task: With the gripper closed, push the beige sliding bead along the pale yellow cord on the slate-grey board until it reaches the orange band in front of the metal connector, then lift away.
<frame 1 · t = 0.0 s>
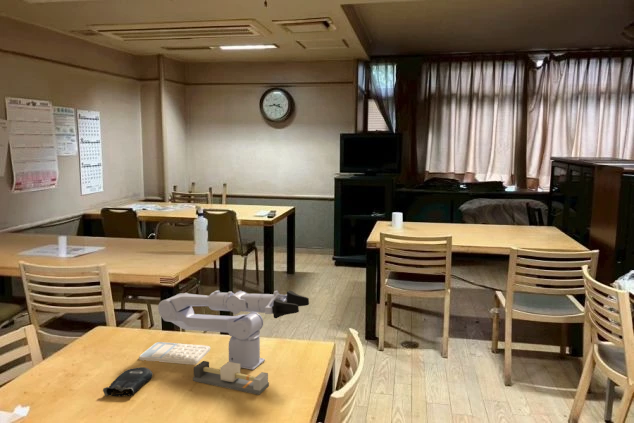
hand: (303, 305, 154), 22 cm above the table, tool horizontal, fingers open, 7 cm apart
cord board: (230, 383, 150), on the table
calculator: (175, 356, 170), on the table
electronic device: (131, 386, 149), on the table
beige sliding bead: (230, 371, 149), point 4 cm above the table, slide at 0.0 cm
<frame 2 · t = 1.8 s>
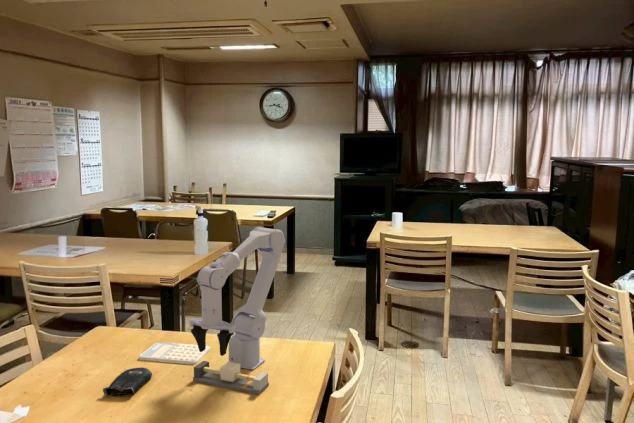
hand: (212, 352, 151), 8 cm above the table, tool pointing down, fingers open, 7 cm apart
nothing on the table moved.
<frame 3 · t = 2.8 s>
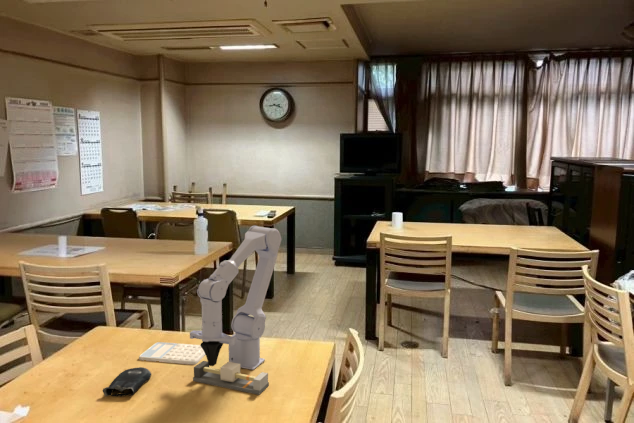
hand: (212, 364, 151), 5 cm above the table, tool pointing down, fingers closed
nothing on the table moved.
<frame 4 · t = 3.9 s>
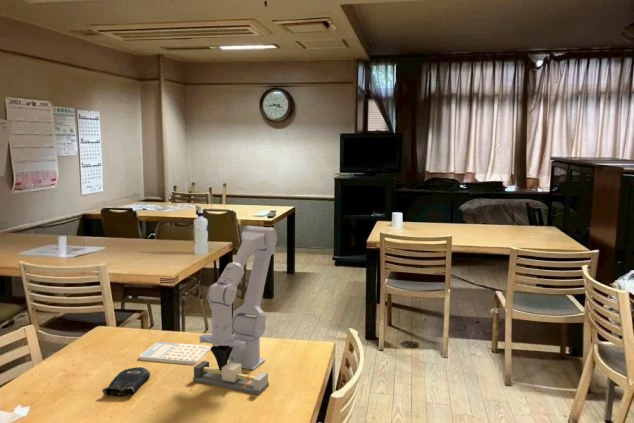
hand: (222, 369, 150), 4 cm above the table, tool pointing down, fingers closed
beige sliding bead: (231, 372, 149), point 3 cm above the table, slide at 0.5 cm, touching gripper
everything else where it was.
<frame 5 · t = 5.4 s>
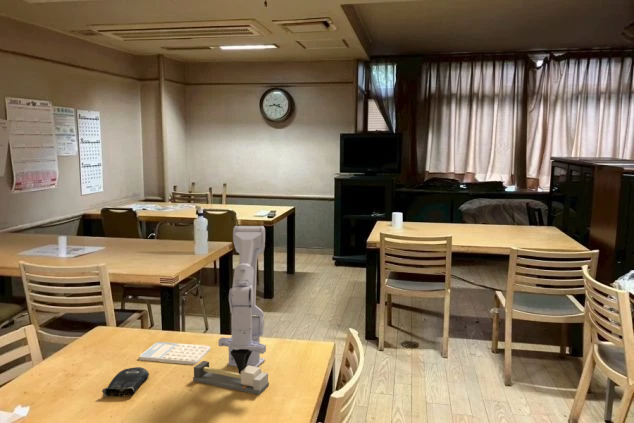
hand: (242, 372, 148), 4 cm above the table, tool pointing down, fingers closed
beige sliding bead: (250, 375, 147), point 4 cm above the table, slide at 6.8 cm, touching gripper
everything else where it was.
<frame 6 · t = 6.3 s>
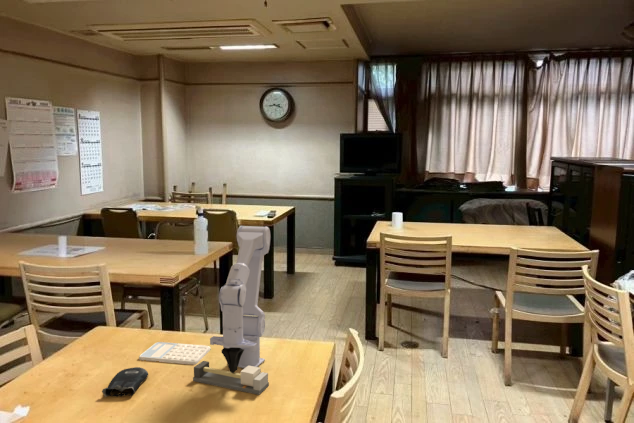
hand: (233, 371, 149), 4 cm above the table, tool pointing down, fingers closed
beige sliding bead: (250, 375, 147), point 4 cm above the table, slide at 6.7 cm
everything else where it was.
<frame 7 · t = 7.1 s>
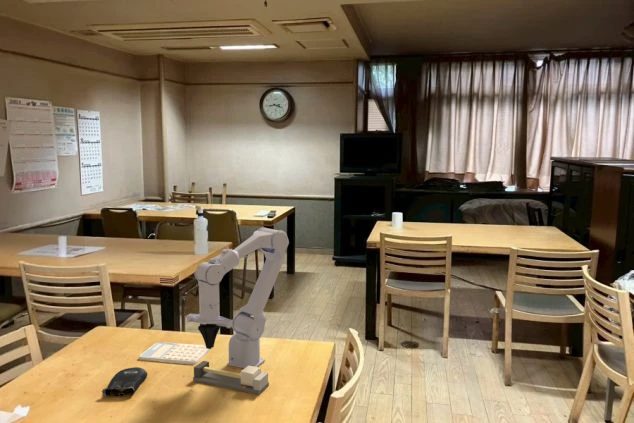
hand: (210, 347, 152), 9 cm above the table, tool pointing down, fingers closed
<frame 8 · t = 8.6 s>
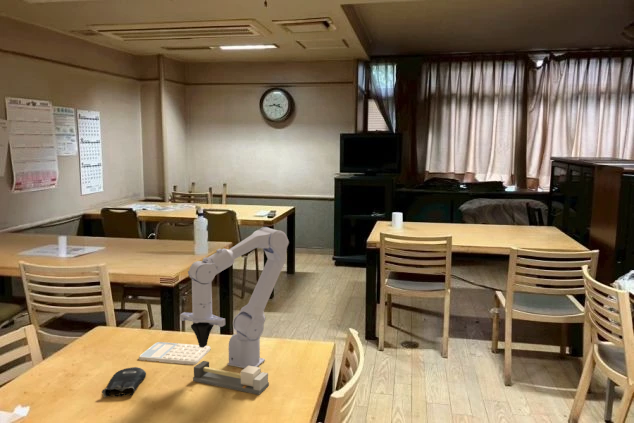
hand: (203, 346, 153), 9 cm above the table, tool pointing down, fingers closed
at the end: beige sliding bead slide at 6.7 cm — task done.
